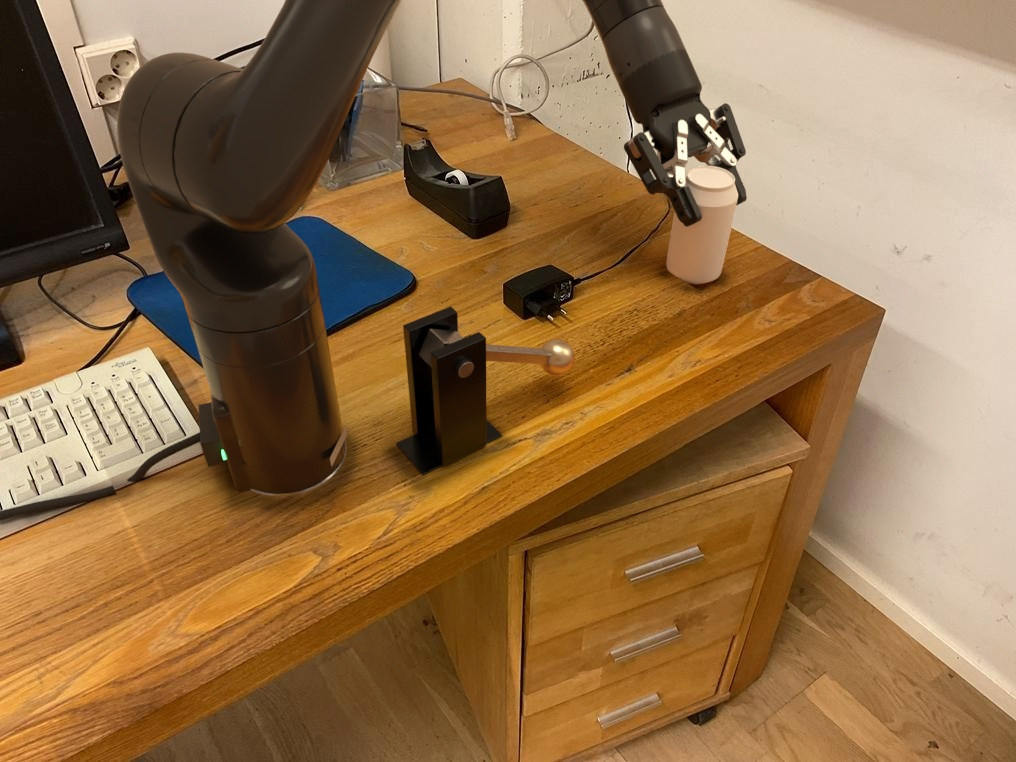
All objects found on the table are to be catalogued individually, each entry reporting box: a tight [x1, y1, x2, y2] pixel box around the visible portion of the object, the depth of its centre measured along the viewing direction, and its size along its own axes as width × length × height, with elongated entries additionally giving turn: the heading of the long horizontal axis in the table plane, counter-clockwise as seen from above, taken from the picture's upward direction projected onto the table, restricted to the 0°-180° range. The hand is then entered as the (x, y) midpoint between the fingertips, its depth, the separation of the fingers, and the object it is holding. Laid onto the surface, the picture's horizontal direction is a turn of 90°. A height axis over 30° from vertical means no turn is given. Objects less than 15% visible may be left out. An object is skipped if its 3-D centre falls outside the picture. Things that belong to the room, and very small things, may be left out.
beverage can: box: [665, 165, 738, 285], centre depth 87 cm, size 6×6×12 cm
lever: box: [419, 329, 575, 376], centre depth 68 cm, size 16×3×3 cm, turn 126°
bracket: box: [395, 306, 503, 477], centre depth 66 cm, size 8×6×13 cm
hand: (716, 213), depth 85 cm, fingers closed on beverage can, 6 cm apart
